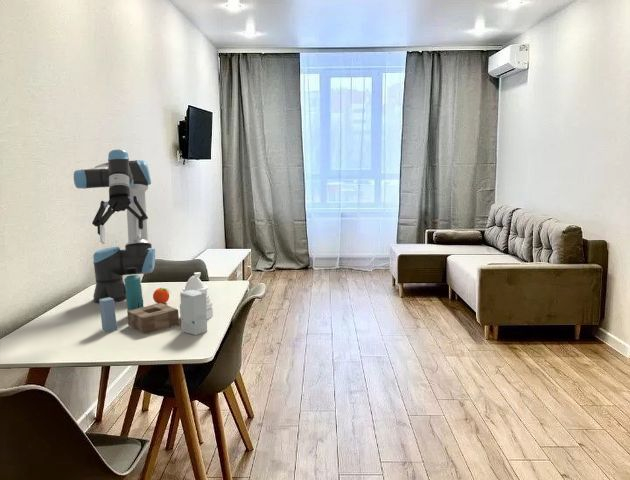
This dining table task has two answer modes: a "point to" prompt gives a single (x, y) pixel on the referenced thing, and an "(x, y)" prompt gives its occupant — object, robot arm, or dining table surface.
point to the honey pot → (197, 285)
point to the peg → (108, 314)
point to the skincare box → (193, 312)
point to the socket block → (153, 318)
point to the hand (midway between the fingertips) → (120, 240)
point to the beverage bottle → (133, 290)
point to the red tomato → (161, 295)
